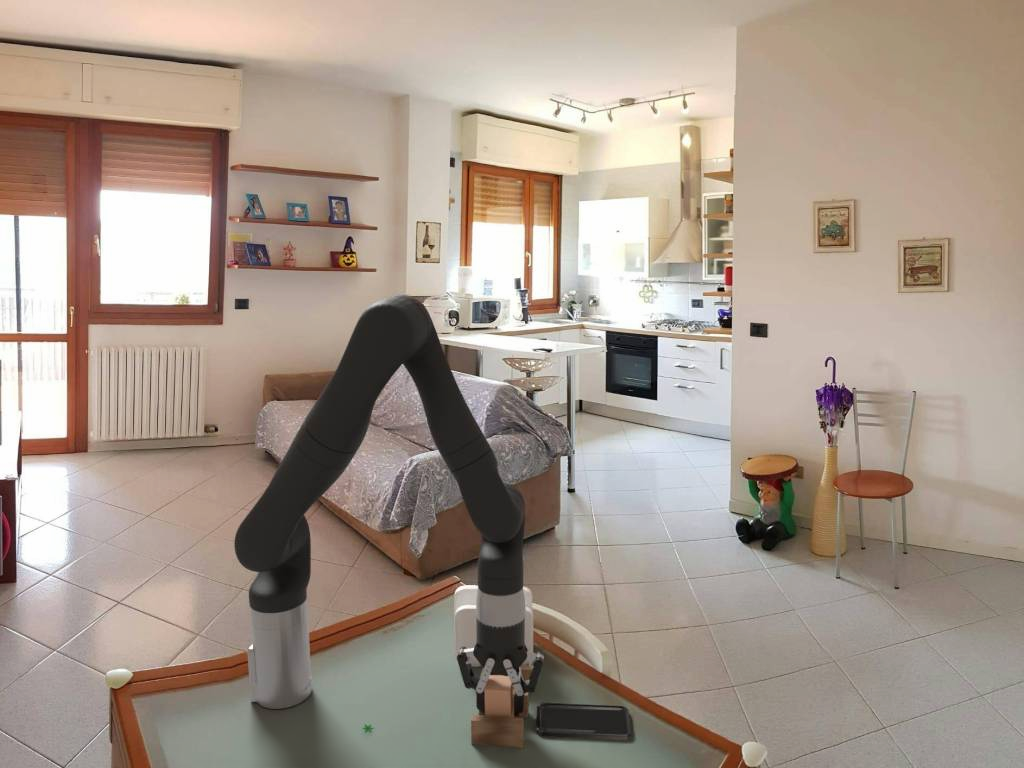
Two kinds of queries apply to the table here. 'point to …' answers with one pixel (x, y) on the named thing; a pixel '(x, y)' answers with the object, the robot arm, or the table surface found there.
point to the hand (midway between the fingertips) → (500, 711)
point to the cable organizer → (467, 620)
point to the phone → (583, 721)
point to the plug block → (499, 696)
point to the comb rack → (501, 724)
